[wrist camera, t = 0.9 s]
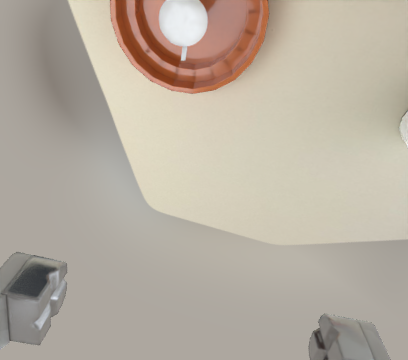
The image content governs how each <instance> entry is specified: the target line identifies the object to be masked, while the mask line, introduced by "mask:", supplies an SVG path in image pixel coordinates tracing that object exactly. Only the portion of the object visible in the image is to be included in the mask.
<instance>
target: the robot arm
mask: <svg viewBox="0 0 408 360" xmlns="http://www.w3.org/2000/svg"><path fill="white" fill-rule="evenodd" d="M66 273H67V263H65V262H61V261H57V260H53V259H48V258H44V257H39V256H35V255H29V254H25V253H20V252H16V253H14V254H12V255H11V256H10V258H9V259H8V260H7V261H6V262H5V263H4V264H3V266H2V267H1V268H0V349H1V348H3V347H4V346H5V345H7V344H8V343H9V341H15V342H22V343H27V344H34V345H40V344H41V342H42V341H43V339H44V337H45V335H46V333H47V332H48V330H49V328H50V326H51V317H53V316H54V315H56V314H57V313H58V312H59V309H60V308H61V306H62V304H63V301H64V298H65V294H66V289H67V282H66V281H65V280H64V276H65V275H66ZM318 323H319V326H320V328H318V329H317V330H315V331H313V333H312V335H311V337H310V341H309V356H310V360H391V359H390V357H389V355H388V353H387V351H386V348H385V346H384V344H383V342H382V340H381V338H380V336H379V334H378V331H377V329H376V327H375V325H374V324H372V322H367V321H361V320H354V319H350V318H345V317H340V316H335V315H329V314H323V315H322V316H321V317H320V319H319V322H318Z"/></svg>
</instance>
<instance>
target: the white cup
mask: <svg viewBox="0 0 408 360" xmlns="http://www.w3.org/2000/svg"><path fill="white" fill-rule="evenodd" d="M399 131H400V134H401V137H402V139H403V141H404V142H405V143H406V145H407V147H408V111H407V112H406V114H405V115H404V116H403V117H402V119H401V123H400V127H399Z"/></svg>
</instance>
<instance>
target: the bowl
mask: <svg viewBox="0 0 408 360" xmlns="http://www.w3.org/2000/svg"><path fill="white" fill-rule="evenodd" d="M165 1H166V0H110V10H111V21H112V25H113V28H114V31H115V34H116V37H117V40H118V43H119V45H120V47H121V48H122V50H123V51H124V53H125V54H126V56H127V57H128V59H129V60H130V62H131V63H132V65H133V66H134V67H135V68H136V69H138V70H139V71H140V72H141V73H142V74H143V75H144V76H146V77H147V78H148V79H149V80H150V81H152V82H154V83H156V84H158V85H160V86H163V87H165V88H167V89H169V90H172V91H178V92H185V93H192V94H193V93H200V92H206V91H212V90H216V89H218V88H220V87H222V86H224V85H226V84H228V83H230V82H232V81H234V80H235V79H236V78H237V77H238V76H239V75H240V74H241V73H242V72H243V71H244V70H245V69H246V68H247V67H248V66H249V65H250V64H251V63H252V62H253V60H254V58H255V56H256V54H257V52H258V50H259V49H260V47H261V45H262V43H263V41H264V37H265V32H266V27H267V22H268V17H269V8H268V0H206V11H207V17H208V24H207V29H206V32H205V34H204V36H203V37H202V38H201V40H200V41H198V42H197V43H196V44H194V45H191V46H187V54H186V61H181V54H182V47H183V46H178V45H175V44H173V43H171V42H170V41H169V40H168V39H167V38H166V37H165V36H164V34H163V33H162V31H161V29H160V25H159V12H160V9H161V6H162V5H163V3H164V2H165Z"/></svg>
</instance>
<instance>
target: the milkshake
mask: <svg viewBox="0 0 408 360" xmlns="http://www.w3.org/2000/svg"><path fill="white" fill-rule="evenodd" d="M207 24H208V17H207V11H206V0H166V1H165V2H164V3H163V5H162V6H161V9H160V12H159V25H160V29H161V31H162V33H163V34H164V36H165V37H166V38H167V39H168V40H169V41H170V42H171V43H173V44H175V45H178V46H183V47H182V54H181V61H186V54H187V46H191V45H194V44H196V43H197V42H198V41H200V40H201V38H202V37H203V36H204V34H205V32H206V29H207Z"/></svg>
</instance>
